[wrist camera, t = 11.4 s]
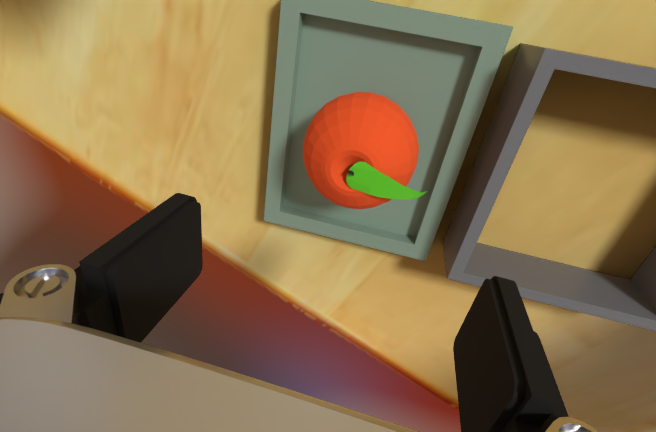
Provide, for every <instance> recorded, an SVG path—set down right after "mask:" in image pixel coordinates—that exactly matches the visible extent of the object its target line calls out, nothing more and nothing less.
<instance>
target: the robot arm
mask: <svg viewBox="0 0 656 432" xmlns="http://www.w3.org/2000/svg"><path fill="white" fill-rule="evenodd" d="M201 270H202V233H201V206H200V203H198V202H197V200H196V198H195V197H192V196H188V195H184V194H181V193H176V194H174V195H173V196H172V197H170V198H169V199H167V200H166V201H164V202H163V203H162V204H160V205H159V206H157V207H156V208H155V209H153V210H152V211H150V212H149V213H148V214H146V215H145V216H143V217H142V218H140V219H139V220H138V221H136V222H135V223H133V224H132V225H131V226H129V227H128V228H126V229H125V230H124V231H122V232H121V233H119V234H118V235H116V236H115V237H114V238H112V239H111V240H110V241H108V242H107V243H105V244H104V245H102V246H101V247H100V248H98V249H97V250H95V251H94V252H92V253H91V254H90V255H88V256H87V257H85V258H84V259H83V260H81V261H80V266H79V267H78V268H77V269H75V270H73V269H72V268H70V267H67V266H65V265H58V264H53V265H43V266H38V267H34V268H32V269H29V270H26V271H24V272H22V273H21V274H19V275H17V276H16V277H14V278H13V279H12V280H11V281H10V282H9V283H8V285H7V287H6V288H5V291H4V293H1V294H0V432H418V431H415V430H412V429H409V428H406V427H403V426H400V425H397V424H394V423H391V422H388V421H385V420H382V419H379V418H376V417H373V416H369V415H366V414H363V413H360V412H357V411H354V410H351V409H348V408H345V407H342V406H339V405H335V404H332V403H329V402H326V401H323V400H320V399H317V398H314V397H311V396H308V395H304V394H301V393H298V392H295V391H292V390H289V389H286V388H283V387H279V386H276V385H273V384H270V383H267V382H264V381H261V380H258V379H255V378H251V377H248V376H245V375H242V374H239V373H236V372H232V371H229V370H226V369H223V368H220V367H217V366H213V365H210V364H207V363H204V362H201V361H198V360H194V359H191V358H188V357H185V356H181V355H179V354H175V353H172V352H169V351H166V350H163V349H159V348H156V347H153V346H149V345H147V344H143V343H141V342H142V341H143V339H144V338H145V337H146V336H147V335H148V333H150V331H151V330H152V329H153V328H154V327H155V326H156V325H157V323H158V322H159V321H160V320H161V319H162V317H163V316H164V315H165V314H166V313H167V312H168V311H169V309H170V308H171V307H172V306H173V305H174V304H175V303H176V302H177V300H178V299H179V298H180V297H181V296H182V295H183V293H184V292H185V291H186V290H187V289H188V288H189V286H190V285H191V284H192V283H193V282H194V281H195V280H196V278H197V277H198V276H199V275H200V273H201ZM453 350H454V361H455V371H456V381H457V392H458V402H459V412H460V423H461V432H599V431H597V430H596V429H595V428H593V427H592V426H590V425H589V424H587V423H585V422H583V421H581V420H579V419H575V418H571V417H569V416H568V414H567V411H566V408H565V406H564V403H563V400H562V398H561V395H560V392H559V389H558V387H557V384H556V381H555V379H554V376H553V373H552V371H551V368H550V365H549V362H548V360H547V357H546V354H545V352H544V349H543V346H542V344H541V341H540V338H539V336H538V335H537V333H535V332H534V331H533V329H532V326H531V323H530V320H529V318H528V315H527V312H526V309H525V307H524V304H523V301H522V298H521V295H520V293H519V290H518V287H517V284H516V282H515V281H513V280H509V279H506V278H502V277H498V276H493V277H492V278H491V279H485V280H484V282H483V284H482V286H481V288H480V290H479V292H478V294H477V296H476V298H475V300H474V302H473V304H472V306H471V308H470V310H469V312H468V314H467V316H466V318H465V320H464V322H463V324H462V326H461V328H460V330H459V332H458V334H457V336H456V338H455V341H454V347H453Z"/></svg>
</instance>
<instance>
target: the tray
mask: <svg viewBox="0 0 656 432" xmlns="http://www.w3.org/2000/svg"><path fill="white" fill-rule="evenodd" d="M512 29H513V27H512V26H507V25H501V24H495V23H490V22H484V21H479V20H473V19H468V18H462V17H457V16H451V15H446V14H440V13H435V12H429V11H424V10H418V9H413V8H407V7H402V6H396V5H391V4H385V3H380V2H374V1H369V0H281V9H280V21H279V34H278V46H277V59H276V72H275V84H274V97H273V110H272V122H271V135H270V148H269V160H268V173H267V186H266V198H265V211H264V221H266V222H270V223H274V224H278V225H282V226H286V227H290V228H294V229H298V230H302V231H306V232H310V233H314V234H318V235H322V236H326V237H330V238H334V239H338V240H342V241H346V242H350V243H354V244H358V245H362V246H366V247H370V248H374V249H379V250H383V251H387V252H391V253H395V254H399V255H403V256H407V257H411V258H415V259H419V260H423V261H426V259H427V257H428V254H429V251H430V249H431V246H432V243H433V241H434V238H435V235H436V233H437V230H438V227H439V225H440V222H441V219H442V217H443V214H444V211H445V209H446V206H447V203H448V201H449V198H450V195H451V193H452V190H453V187H454V185H455V182H456V179H457V177H458V174H459V171H460V168H461V166H462V163H463V160H464V158H465V155H466V152H467V150H468V147H469V144H470V142H471V139H472V136H473V134H474V131H475V128H476V126H477V123H478V120H479V118H480V115H481V112H482V110H483V107H484V104H485V102H486V99H487V96H488V94H489V91H490V88H491V86H492V83H493V80H494V78H495V75H496V72H497V70H498V67H499V64H500V62H501V59H502V56H503V54H504V51H505V48H506V46H507V43H508V40H509V37H510V35H511V32H512ZM355 92H370V93H375V94H378V95H381V96H384V97H387V98H388V99H390V100H391V101H393V102H394V103H396V104H397V105H399V106H400V107H401V109H402V110H403V111H404V112H405V113H406V114H407V116H408V117H409V118H410V120H411V122H412V124H413V126H414V129H415V131H416V133H417V138H418V145H419V153H418V161H417V165H416V168H415V170H414V173H413V175H412V177H411V180H410V182H409V183H408V184H407V186H406V187H408V188H410V189H412V190H415V191H418V192H425V191H427V192H426V193H425V194H423V195H422V196H421V197H418V198H414V199H410V200H403V199H391V200H390V201H388V202H386V203H383V204H381V205H378V206H376V207H373V208H367V209H352V208H346V207H343V206H340V205H337V204H335V203H333V202H332V201H330V200H328V199H327V198H325V197H324V196H323V195H322V194H321V193H320V192H319V191H318V190H317V189H316V188H315V186H314V185H313V183H312V181H311V180H310V178H309V176H308V174H307V171H306V168H305V164H304V161H303V143H304V139H305V134H306V131H307V129H308V126H309V125H310V123H311V121H312V119H313V118H314V116H315V114H316V113H317V112H318V111H319V110H320V109H321V108H322V107H323V106H324V105H325V104H326V103H328V102H330V101H332V100H333V99H335V98H337V97H339V96H342V95H346V94H351V93H355Z"/></svg>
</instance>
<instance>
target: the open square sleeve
mask: <svg viewBox="0 0 656 432" xmlns="http://www.w3.org/2000/svg"><path fill="white" fill-rule="evenodd" d="M554 69H557V70H562V71H568V72H573V73H578V74H583V75H589V76H594V77H599V78H604V79H610V80H615V81H620V82H625V83H631V84H636V85H641V86H646V87H652V88H656V68H652V67H647V66H641V65H636V64H630V63H625V62H620V61H614V60H609V59H603V58H598V57H593V56H587V55H582V54H576V53H571V52H566V51H560V50H555V49H549V48H544V47H539V46H533V45H528V44H522V43H521V44H520V47H519V49H518V52H517V54H516V57H515V60H514V62H513V65H512V67H511V70H510V72H509V75H508V77H507V80H506V83H505V85H504V88H503V90H502V93H501V95H500V98H499V100H498V103H497V106H496V108H495V111H494V113H493V116H492V118H491V121H490V123H489V126H488V129H487V131H486V134H485V136H484V139H483V141H482V144H481V146H480V149H479V152H478V154H477V157H476V159H475V162H474V164H473V167H472V169H471V172H470V175H469V177H468V180H467V182H466V185H465V187H464V190H463V192H462V195H461V198H460V200H459V203H458V205H457V208H456V210H455V213H454V215H453V218H452V221H451V223H450V226H449V228H448V231H447V233H446V236H445V238H444V241H443V251H444V258H445V265H446V272H447V279H451V280H455V281H459V282H463V283H467V284H471V285H474V286H478V287H481V286H482V284H483V282H484V280H485V279H491V278H492V277H493V276H498V277H502V278H506V279H509V280H513V281H515V282H516V284H517V287H518V290H519V293H520V295H521V297H522V298H526V299H530V300H534V301H538V302H542V303H546V304H550V305H554V306H558V307H562V308H565V309H569V310H573V311H577V312H581V313H585V314H589V315H593V316H597V317H601V318H605V319H609V320H613V321H617V322H621V323H625V324H629V325H633V326H637V327H641V328H645V329H649V330H653V331H656V246H655V248H654V249H653V250H652V252H651V253H650V254H649V256H648V257H647V258H646V259H645V261H644V262H643V263H642V265H641V266H640V267H639V269H638V270H637V271H636V273H635V274H634V275H633V276H632V278H631V279H630V280H629V279H625V278H621V277H617V276H612V275H608V274H604V273H600V272H596V271H592V270H587V269H583V268H579V267H575V266H571V265H567V264H563V263H558V262H554V261H550V260H546V259H542V258H538V257H534V256H529V255H525V254H521V253H517V252H513V251H509V250H505V249H500V248H496V247H492V246H488V245H484V244H480V243H477V240H478V238H479V236H480V234H481V232H482V229H483V227H484V225H485V223H486V220H487V218H488V216H489V214H490V212H491V209H492V207H493V205H494V203H495V200H496V198H497V196H498V194H499V192H500V189H501V187H502V185H503V183H504V180H505V178H506V176H507V174H508V172H509V169H510V167H511V165H512V163H513V160H514V158H515V156H516V154H517V151H518V149H519V147H520V145H521V143H522V140H523V138H524V136H525V134H526V131H527V129H528V127H529V125H530V123H531V120H532V118H533V116H534V114H535V111H536V109H537V107H538V105H539V103H540V100H541V98H542V96H543V94H544V91H545V89H546V87H547V85H548V83H549V80H550V78H551V76H552V74H553V71H554Z"/></svg>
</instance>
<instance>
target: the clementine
mask: <svg viewBox="0 0 656 432" xmlns="http://www.w3.org/2000/svg"><path fill="white" fill-rule="evenodd" d="M418 153H419V145H418V138H417V133H416V131H415V129H414V126H413V124H412V122H411V120H410V118H409V117H408V116H407V114H406V113H405V112H404V111H403V110H402V109H401V107H400V106H399V105H397V104H396V103H394V102H393V101H391V100H390V99H388V98H387V97H384V96H381V95H378V94H375V93H370V92H355V93H351V94H346V95H342V96H339V97H337V98H335V99H333V100H332V101H330V102H328V103H326V104H325V105H324V106H323V107H322V108H321V109H320V110H319V111H318V112H317V113H316V114H315V116H314V118H313V119H312V121H311V123H310V125H309V126H308V129H307V131H306V134H305V139H304V143H303V161H304V164H305V168H306V171H307V174H308V176H309V178H310V180H311V181H312V183H313V185H314V186H315V188H316V189H317V190H318V191H319V192H320V193H321V194H322V195H323V196H324V197H325V198H327V199H328V200H330V201H332V202H333V203H335V204H337V205H340V206H343V207H346V208H352V209H367V208H373V207H376V206H378V205H381V204H383V203H386V202H388V201H390V200H391V199H403V200H410V199H414V198H418V197H421V196H422V195H423V194H425V193H426V192H427V191H425V192H418V191H415V190H412V189H410V188H408V187H406V186H407V184H408V183H409V182H410V180H411V177H412V175H413V173H414V170H415V168H416V165H417V161H418Z"/></svg>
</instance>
